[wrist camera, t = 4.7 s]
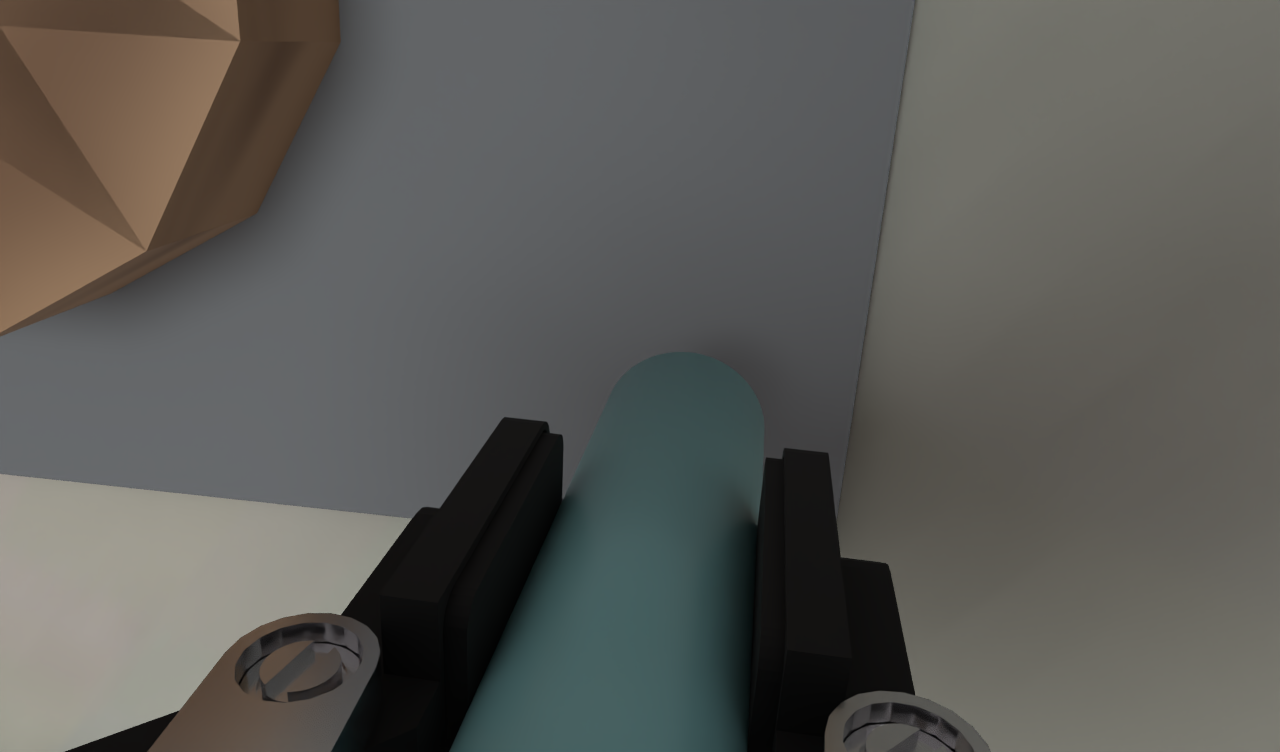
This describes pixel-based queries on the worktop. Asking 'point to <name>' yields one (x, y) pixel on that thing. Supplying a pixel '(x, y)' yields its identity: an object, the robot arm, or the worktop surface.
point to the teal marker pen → (640, 580)
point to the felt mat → (496, 253)
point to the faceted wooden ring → (140, 133)
